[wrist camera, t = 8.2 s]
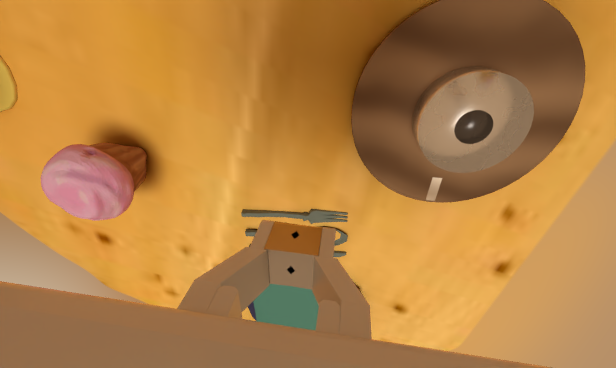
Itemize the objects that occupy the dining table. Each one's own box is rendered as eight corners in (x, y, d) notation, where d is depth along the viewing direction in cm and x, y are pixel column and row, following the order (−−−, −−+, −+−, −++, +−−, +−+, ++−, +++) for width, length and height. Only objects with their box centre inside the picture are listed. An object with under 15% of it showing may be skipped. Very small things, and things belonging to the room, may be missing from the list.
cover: (426, 61, 24) (435, 67, 22) (534, 70, 24) (557, 77, 21) (402, 153, 29) (407, 167, 26) (491, 163, 28) (506, 179, 26)
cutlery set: (257, 329, 54) (254, 341, 52) (230, 201, 39) (224, 211, 37) (361, 341, 51) (361, 353, 49) (375, 208, 36) (376, 219, 34)
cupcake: (162, 194, 39) (109, 244, 30) (103, 174, 39) (32, 219, 30) (163, 139, 34) (100, 179, 26) (95, 116, 34) (9, 148, 25)
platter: (366, -14, 23) (366, -15, 22) (632, -7, 21) (643, -8, 20) (342, 188, 33) (342, 192, 33) (518, 206, 31) (523, 211, 30)
